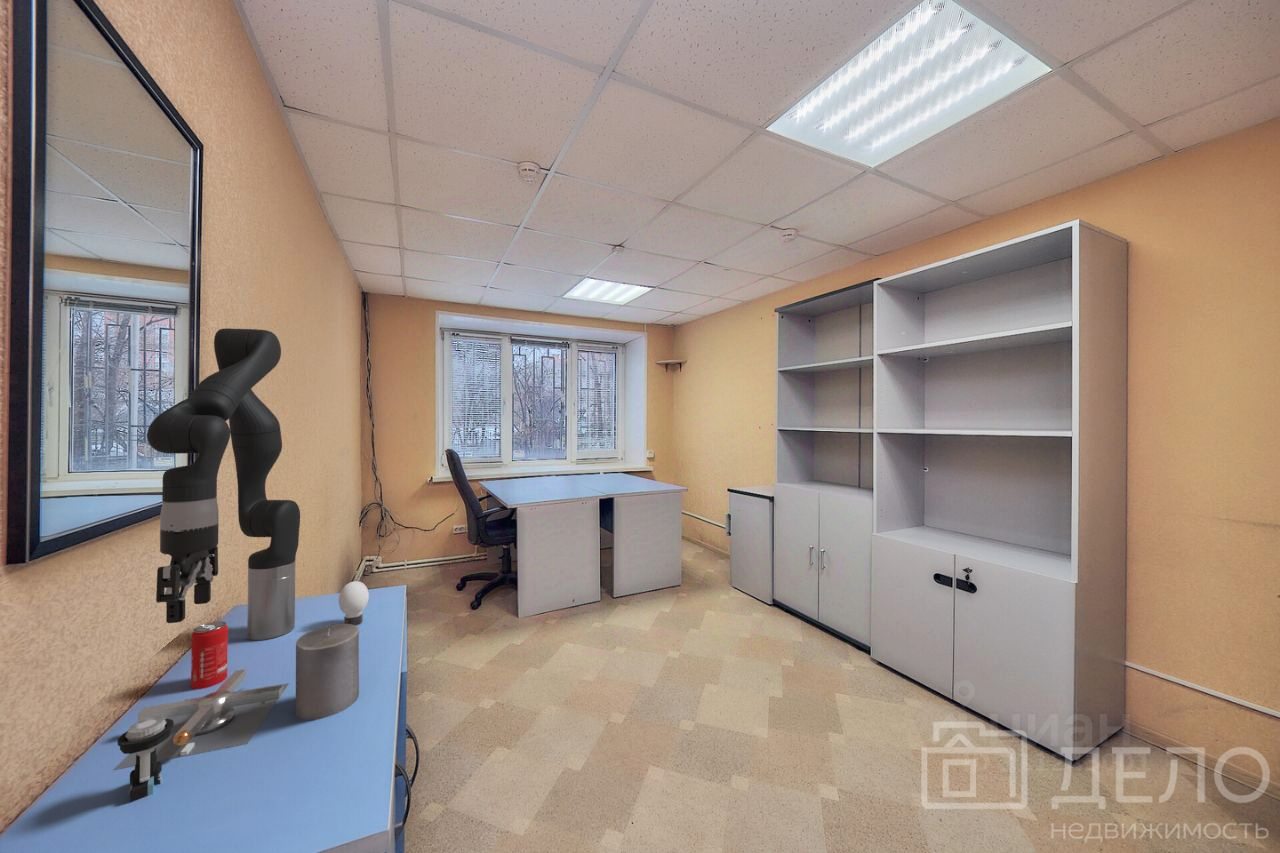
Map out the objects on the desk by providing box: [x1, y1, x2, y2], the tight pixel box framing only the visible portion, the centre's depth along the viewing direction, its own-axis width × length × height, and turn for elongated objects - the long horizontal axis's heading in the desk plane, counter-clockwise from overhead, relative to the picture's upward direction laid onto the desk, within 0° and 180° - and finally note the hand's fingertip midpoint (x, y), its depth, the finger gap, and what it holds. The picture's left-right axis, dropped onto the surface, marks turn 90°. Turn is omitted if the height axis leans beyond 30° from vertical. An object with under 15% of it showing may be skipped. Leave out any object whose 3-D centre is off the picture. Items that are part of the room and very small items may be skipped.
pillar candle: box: [295, 623, 360, 721], centre depth 83 cm, size 10×10×15 cm
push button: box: [117, 716, 174, 803], centre depth 64 cm, size 7×5×10 cm
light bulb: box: [338, 580, 370, 626], centre depth 118 cm, size 7×7×11 cm
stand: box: [113, 682, 290, 771], centre depth 77 cm, size 18×16×2 cm
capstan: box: [137, 669, 284, 746], centre depth 77 cm, size 20×19×4 cm
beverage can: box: [190, 620, 229, 690], centre depth 89 cm, size 5×5×12 cm
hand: (189, 612), depth 82 cm, fingers open, 8 cm apart
